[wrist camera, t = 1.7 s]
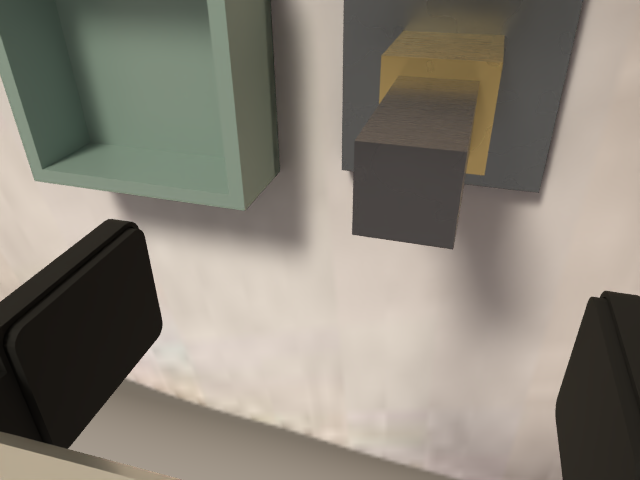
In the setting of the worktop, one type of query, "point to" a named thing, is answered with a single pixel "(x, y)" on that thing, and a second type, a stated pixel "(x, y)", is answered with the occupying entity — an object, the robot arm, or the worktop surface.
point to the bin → (145, 95)
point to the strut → (425, 135)
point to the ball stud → (515, 83)
